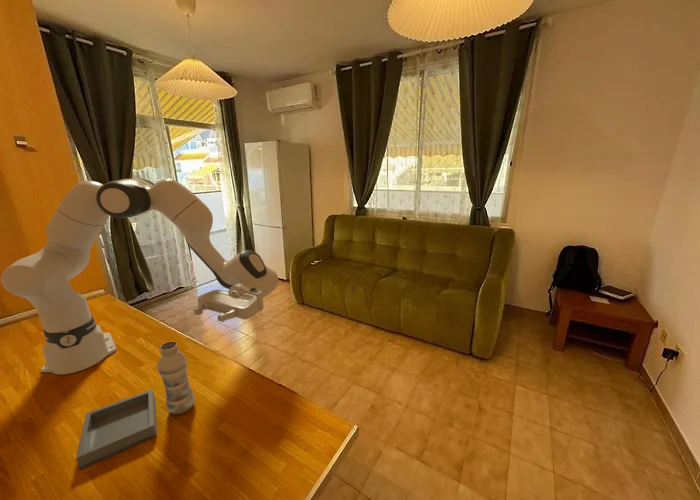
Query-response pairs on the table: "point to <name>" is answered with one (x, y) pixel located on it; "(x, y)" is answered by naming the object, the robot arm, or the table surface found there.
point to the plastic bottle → (175, 379)
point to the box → (117, 428)
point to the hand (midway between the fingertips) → (207, 315)
